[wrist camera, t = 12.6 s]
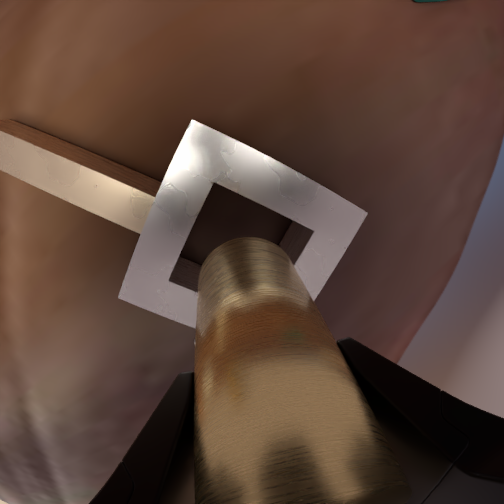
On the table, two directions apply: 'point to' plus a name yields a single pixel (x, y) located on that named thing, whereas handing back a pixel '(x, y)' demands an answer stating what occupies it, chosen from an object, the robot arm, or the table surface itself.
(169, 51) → the table surface
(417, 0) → the digital multimeter
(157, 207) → the square frame with handle
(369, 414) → the brown mottled cylinder
